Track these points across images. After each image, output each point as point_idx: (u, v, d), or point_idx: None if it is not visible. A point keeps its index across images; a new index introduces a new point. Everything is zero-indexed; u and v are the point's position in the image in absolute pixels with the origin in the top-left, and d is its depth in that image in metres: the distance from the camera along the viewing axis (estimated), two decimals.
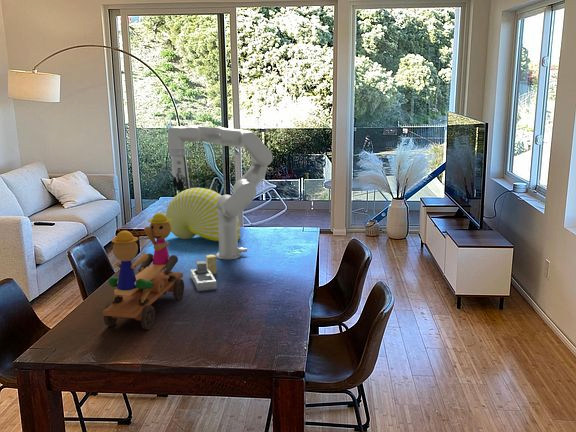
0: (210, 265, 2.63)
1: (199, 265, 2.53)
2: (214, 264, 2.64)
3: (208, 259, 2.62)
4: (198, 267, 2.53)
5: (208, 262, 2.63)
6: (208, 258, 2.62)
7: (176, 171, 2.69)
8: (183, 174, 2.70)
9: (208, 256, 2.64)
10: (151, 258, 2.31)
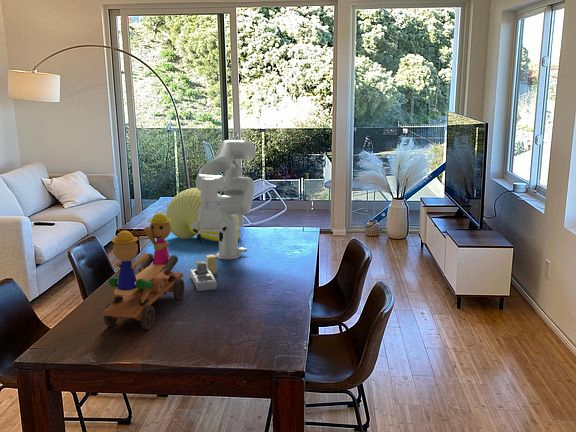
0: (210, 265, 2.63)
1: (199, 265, 2.53)
2: (214, 264, 2.64)
3: (208, 259, 2.62)
4: (198, 267, 2.53)
5: (208, 262, 2.63)
6: (208, 258, 2.62)
7: (221, 222, 2.61)
8: None
9: (208, 256, 2.64)
10: (151, 258, 2.31)
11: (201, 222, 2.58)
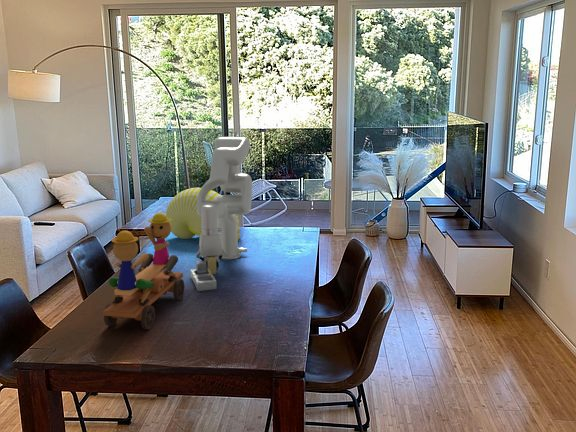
0: (210, 265, 2.63)
1: (199, 265, 2.53)
2: (214, 264, 2.64)
3: (208, 259, 2.62)
4: (198, 267, 2.53)
5: (208, 262, 2.63)
6: (208, 258, 2.62)
7: (221, 248, 2.64)
8: None
9: (208, 256, 2.64)
10: (151, 258, 2.30)
11: (202, 249, 2.60)
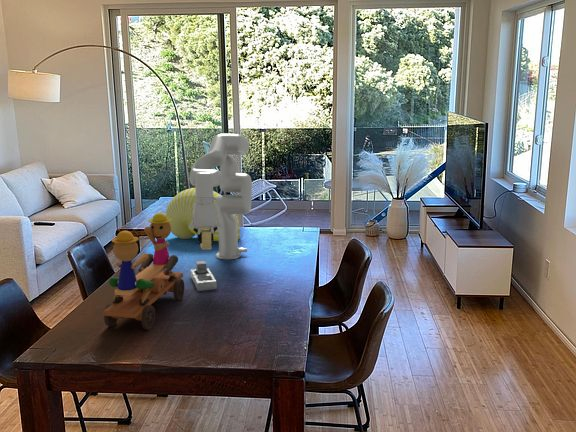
0: (205, 240, 2.47)
1: (199, 265, 2.53)
2: (209, 239, 2.47)
3: (202, 233, 2.45)
4: (198, 267, 2.53)
5: (202, 237, 2.46)
6: (203, 233, 2.45)
7: None
8: None
9: (203, 230, 2.47)
10: (151, 258, 2.30)
11: (196, 219, 2.44)
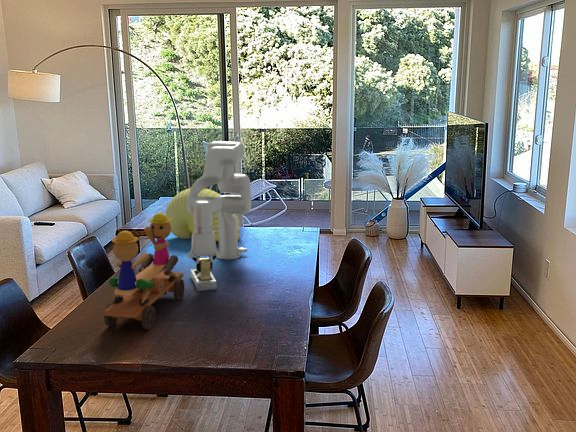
0: (203, 270, 2.44)
1: None
2: (208, 269, 2.44)
3: (201, 263, 2.43)
4: None
5: (201, 267, 2.43)
6: (201, 263, 2.43)
7: None
8: None
9: (201, 260, 2.44)
10: (151, 258, 2.30)
11: (195, 248, 2.41)
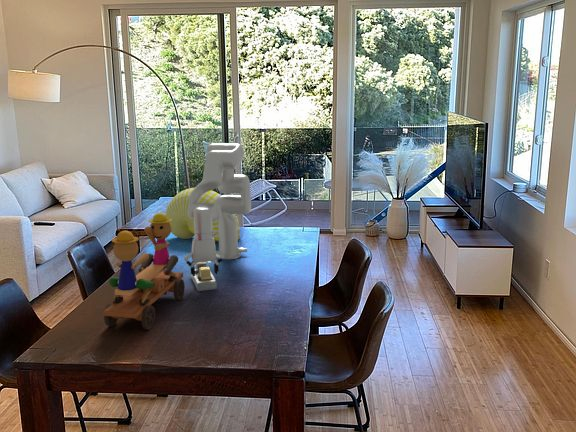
0: (204, 278, 2.45)
1: (199, 265, 2.53)
2: (208, 277, 2.46)
3: (201, 271, 2.44)
4: (198, 267, 2.53)
5: (202, 275, 2.45)
6: (202, 271, 2.44)
7: (216, 254, 2.45)
8: None
9: (202, 268, 2.46)
10: (151, 258, 2.30)
11: (195, 254, 2.42)
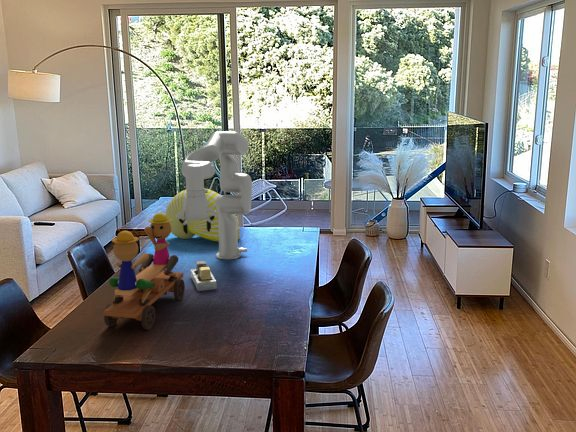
0: (204, 278, 2.45)
1: (199, 265, 2.53)
2: (208, 277, 2.46)
3: (201, 271, 2.44)
4: (198, 267, 2.53)
5: (202, 275, 2.45)
6: (202, 271, 2.44)
7: (208, 211, 2.47)
8: None
9: (202, 269, 2.46)
10: (151, 258, 2.30)
11: (187, 212, 2.43)
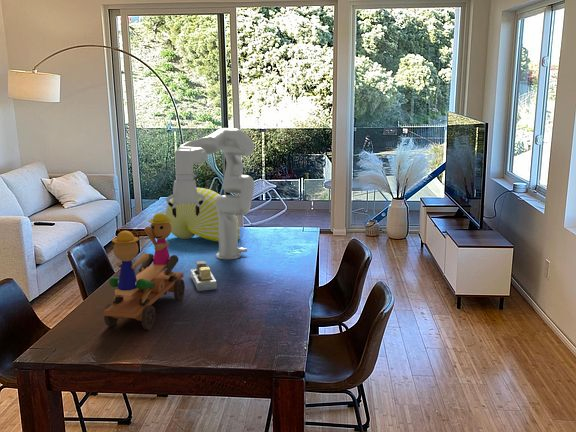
0: (204, 278, 2.45)
1: (199, 265, 2.53)
2: (208, 277, 2.46)
3: (201, 271, 2.44)
4: (198, 267, 2.53)
5: (202, 275, 2.45)
6: (202, 271, 2.44)
7: (197, 195, 2.52)
8: None
9: (202, 268, 2.46)
10: (152, 258, 2.30)
11: (176, 195, 2.49)
